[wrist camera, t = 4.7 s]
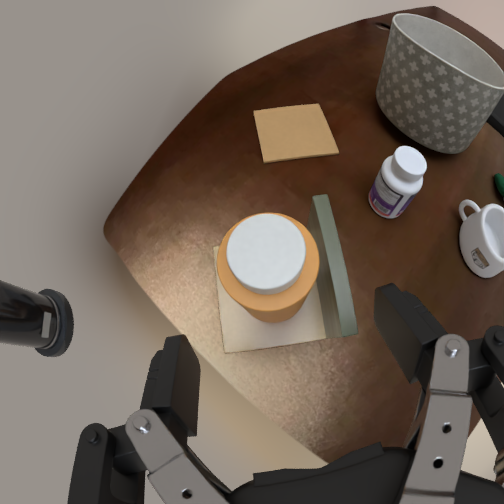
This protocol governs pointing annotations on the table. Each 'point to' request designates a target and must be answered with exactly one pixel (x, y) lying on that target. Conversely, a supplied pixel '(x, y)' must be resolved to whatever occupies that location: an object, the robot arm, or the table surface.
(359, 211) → the table surface
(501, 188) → the gaming controller
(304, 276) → the amber bottle
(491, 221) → the mug
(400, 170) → the pill bottle
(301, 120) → the coaster
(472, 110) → the planter
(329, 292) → the miniature wooden chair
